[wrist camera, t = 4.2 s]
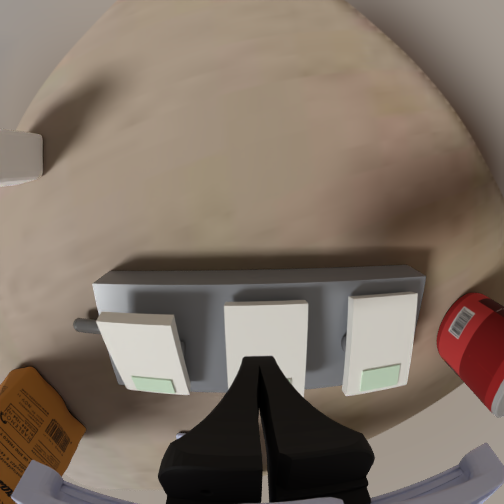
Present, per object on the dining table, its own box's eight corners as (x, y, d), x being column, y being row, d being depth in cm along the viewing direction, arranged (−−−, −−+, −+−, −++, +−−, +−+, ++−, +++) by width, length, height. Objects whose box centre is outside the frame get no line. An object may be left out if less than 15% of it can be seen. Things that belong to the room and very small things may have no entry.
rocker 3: (394, 374, 19) (407, 385, 17) (337, 383, 19) (346, 397, 17) (403, 289, 19) (418, 293, 17) (343, 293, 19) (354, 299, 17)
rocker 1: (192, 374, 20) (189, 396, 18) (133, 370, 20) (126, 390, 18) (176, 304, 17) (170, 327, 15) (107, 301, 17) (95, 322, 15)
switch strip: (389, 356, 23) (402, 374, 20) (92, 359, 23) (79, 377, 20) (407, 264, 21) (426, 276, 18) (70, 270, 21) (51, 282, 18)
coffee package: (55, 436, 27) (0, 540, 5) (3, 368, 24) (-82, 465, 2) (98, 436, 26) (43, 569, 4) (37, 358, 23) (-67, 487, 2)
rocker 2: (298, 386, 19) (303, 401, 17) (230, 389, 19) (229, 405, 17) (301, 296, 19) (308, 304, 17) (226, 298, 19) (223, 306, 16)
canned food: (428, 366, 24) (482, 431, 13) (439, 299, 22) (516, 357, 11) (477, 345, 24) (532, 395, 13) (489, 282, 22) (560, 324, 11)
